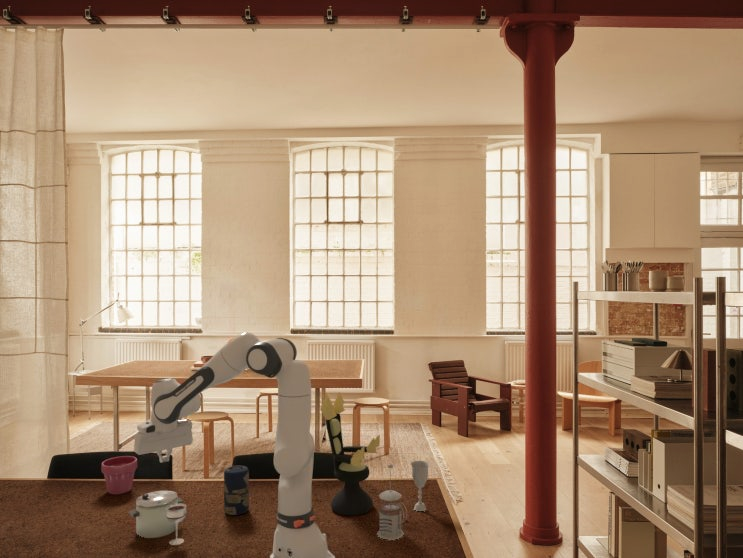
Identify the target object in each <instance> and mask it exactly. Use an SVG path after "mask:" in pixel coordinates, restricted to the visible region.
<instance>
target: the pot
mask: <svg viewBox="0 0 743 558" xmlns="http://www.w3.org/2000/svg"><path fill="white" fill-rule="evenodd" d="M176 503H183V504H184V500H183V499H182V498H181V497H177V499H176V500H175V501H174V502H172V503H170V504H167V505H163V506H158V507H140V506H138V505H137V504H135V506H136V508H134V509H131V510H129V515H130V516H131V517H132V518H135V519H136V521H135V523H136V524H135V525H136V526H135V528H136V535H137V536H138V535H139V536H138V537H140V536H141V537H140V538H143V537H144V539H154V538H157V539H158V538H162V537H165V536H168V535H171V534H173V533H174V532H176V528H175V524H174V523H173V522H170V521H169V520H168V519H167V517H166V512H167V509H166V508H167V507H168V506H169V505H172V504H176Z"/></svg>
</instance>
